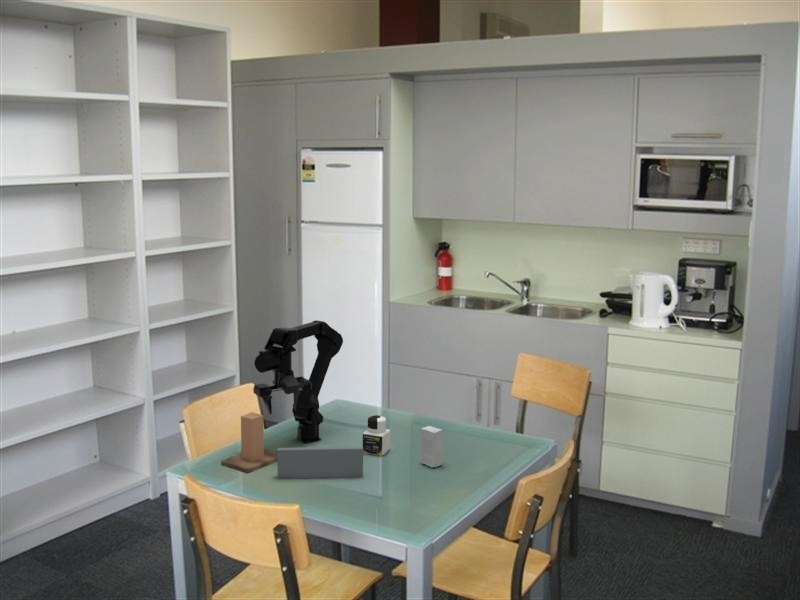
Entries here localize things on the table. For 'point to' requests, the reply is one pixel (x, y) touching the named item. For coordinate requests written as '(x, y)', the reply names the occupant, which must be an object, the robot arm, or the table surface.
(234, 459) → the walnut board
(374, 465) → the table surface
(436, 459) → the skincare box
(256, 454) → the terracotta block
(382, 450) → the medicine bottle
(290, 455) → the slate screen
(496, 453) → the table surface
